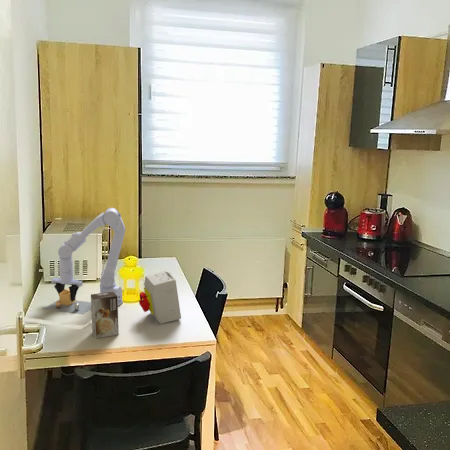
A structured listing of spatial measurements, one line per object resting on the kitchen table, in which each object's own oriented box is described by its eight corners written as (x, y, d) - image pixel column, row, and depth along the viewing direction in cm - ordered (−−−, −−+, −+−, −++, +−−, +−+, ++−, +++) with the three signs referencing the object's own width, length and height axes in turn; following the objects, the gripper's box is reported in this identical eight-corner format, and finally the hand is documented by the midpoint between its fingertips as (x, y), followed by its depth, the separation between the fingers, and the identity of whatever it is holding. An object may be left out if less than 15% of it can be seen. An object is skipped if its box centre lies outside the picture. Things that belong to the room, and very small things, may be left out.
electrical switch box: (139, 318, 216) (131, 275, 211) (171, 309, 221) (165, 267, 216) (147, 331, 203) (139, 286, 198) (181, 321, 208) (175, 277, 203)
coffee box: (114, 329, 199) (113, 290, 196) (119, 334, 194) (118, 295, 190) (91, 332, 195) (90, 294, 192) (95, 339, 189) (94, 299, 186)
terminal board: (100, 306, 223) (100, 303, 223) (83, 317, 210) (83, 314, 210) (61, 301, 228) (61, 298, 228) (42, 312, 215) (42, 308, 215)
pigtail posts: (80, 309, 215) (79, 303, 214) (77, 311, 213) (77, 304, 212) (57, 307, 217) (57, 300, 217) (55, 308, 216) (54, 302, 215)
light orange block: (75, 301, 225) (75, 289, 223) (69, 305, 220) (68, 292, 219) (66, 300, 226) (65, 287, 225) (59, 304, 221) (59, 291, 220)
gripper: (85, 270, 222) (86, 298, 224) (57, 266, 226) (58, 295, 228) (77, 274, 215) (78, 303, 218) (48, 271, 219) (49, 300, 222)
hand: (67, 299), depth 223 cm, fingers closed on light orange block, 5 cm apart
